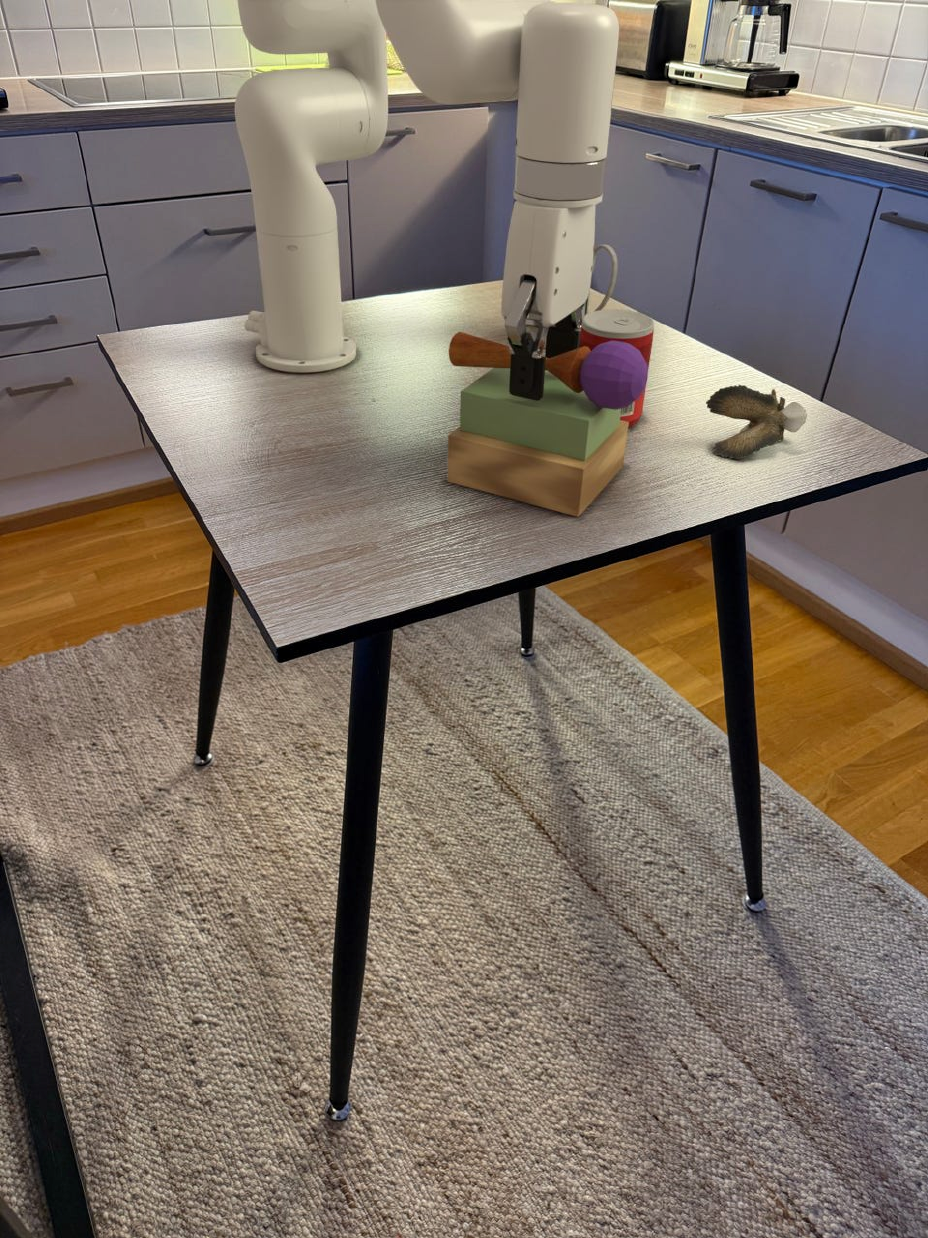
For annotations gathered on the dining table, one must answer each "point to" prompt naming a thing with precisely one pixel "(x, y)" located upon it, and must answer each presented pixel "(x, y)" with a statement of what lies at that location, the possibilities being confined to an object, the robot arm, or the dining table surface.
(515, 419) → the sage block
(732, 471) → the dining table surface
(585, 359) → the purple wooden maraca
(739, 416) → the eagle figurine
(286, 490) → the dining table surface
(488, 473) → the maple block
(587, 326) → the canned food
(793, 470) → the dining table surface
